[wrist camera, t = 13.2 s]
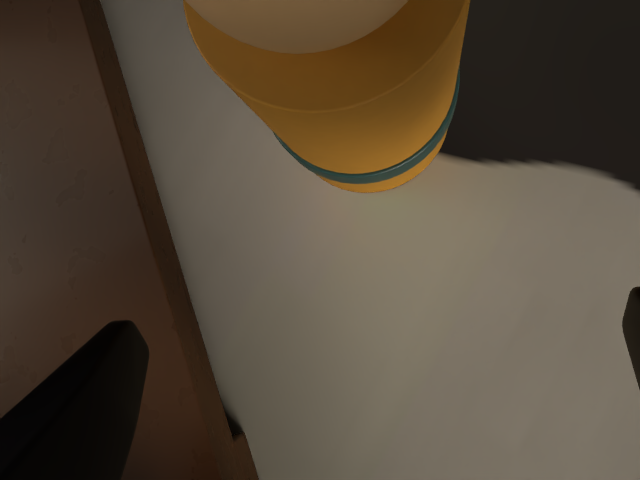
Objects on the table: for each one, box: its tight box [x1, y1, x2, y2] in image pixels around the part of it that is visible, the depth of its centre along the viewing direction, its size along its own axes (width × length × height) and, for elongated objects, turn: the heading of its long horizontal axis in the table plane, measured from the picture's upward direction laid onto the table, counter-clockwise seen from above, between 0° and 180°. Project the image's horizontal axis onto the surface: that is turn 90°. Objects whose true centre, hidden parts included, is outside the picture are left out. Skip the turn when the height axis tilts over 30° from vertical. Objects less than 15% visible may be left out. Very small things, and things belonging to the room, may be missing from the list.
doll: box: [183, 0, 470, 193], centre depth 11 cm, size 5×5×12 cm
